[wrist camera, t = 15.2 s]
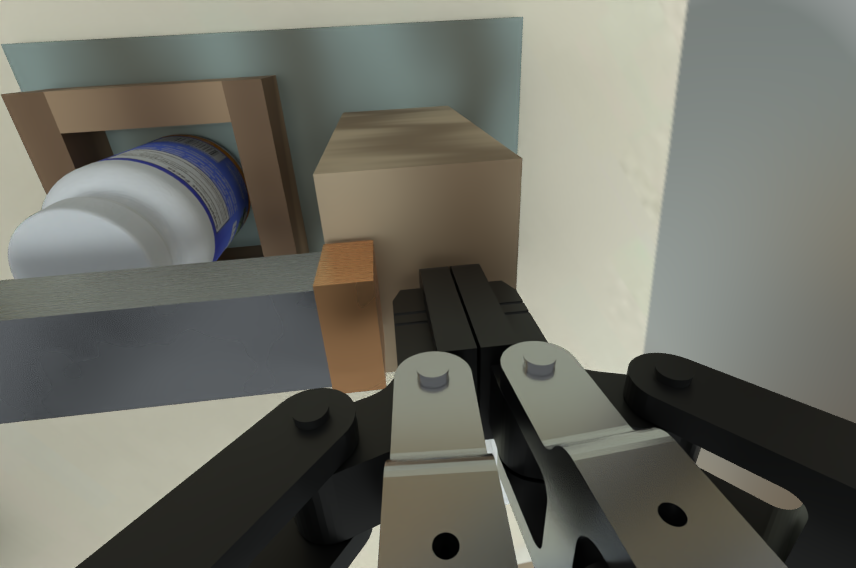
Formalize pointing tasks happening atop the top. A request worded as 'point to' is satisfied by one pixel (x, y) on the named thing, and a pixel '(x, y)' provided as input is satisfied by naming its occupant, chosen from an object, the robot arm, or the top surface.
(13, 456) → the top surface
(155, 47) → the socket board
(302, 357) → the bar
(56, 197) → the pill bottle
